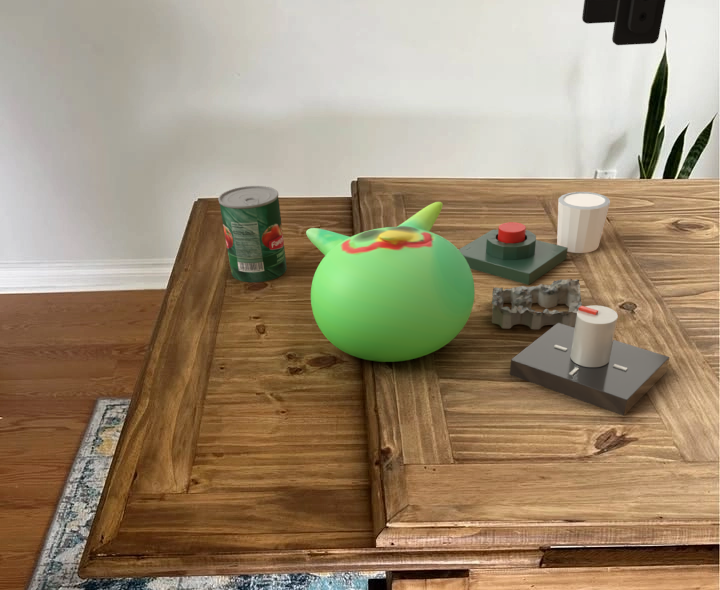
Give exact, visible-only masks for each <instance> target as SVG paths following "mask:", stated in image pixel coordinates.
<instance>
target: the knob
mask: <svg viewBox="0 0 720 590" xmlns="http://www.w3.org/2000/svg"><path fill="white" fill-rule="evenodd" d="M618 319H619V315H618V312H617V311H615V310H614V309H613V308H611V307H608V306H605V305H598V304H597V305H592V304H591V305H586V306H585V305H582V306H580V307H579V309H578V311H577V315H576V322H575V326H574V335H573V341H572V348H571V354H570V357H571V359H572V361H573V362H575V363H576V364H578V365H581V366H584V367H601V366H604V365H606V364H607V363H608V362H609V360H610V356H611V350H612V345H613V340H615V336H616V335H615V334H616V329H617V325H618V324H617V323H618Z"/></svg>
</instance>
